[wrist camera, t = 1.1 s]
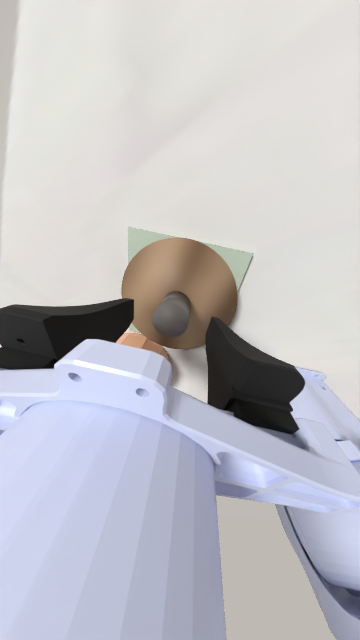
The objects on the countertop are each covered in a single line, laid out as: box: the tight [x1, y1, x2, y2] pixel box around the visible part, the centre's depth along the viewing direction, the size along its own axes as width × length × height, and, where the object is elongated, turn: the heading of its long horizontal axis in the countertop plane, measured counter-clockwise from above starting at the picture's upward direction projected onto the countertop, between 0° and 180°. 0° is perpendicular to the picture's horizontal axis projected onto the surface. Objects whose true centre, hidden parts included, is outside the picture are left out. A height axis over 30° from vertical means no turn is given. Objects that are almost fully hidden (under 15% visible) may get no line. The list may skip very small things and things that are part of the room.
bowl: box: [116, 333, 169, 362], centre depth 22 cm, size 11×11×4 cm
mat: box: [128, 227, 253, 347], centre depth 17 cm, size 13×13×1 cm
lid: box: [122, 238, 237, 349], centre depth 14 cm, size 13×13×6 cm
